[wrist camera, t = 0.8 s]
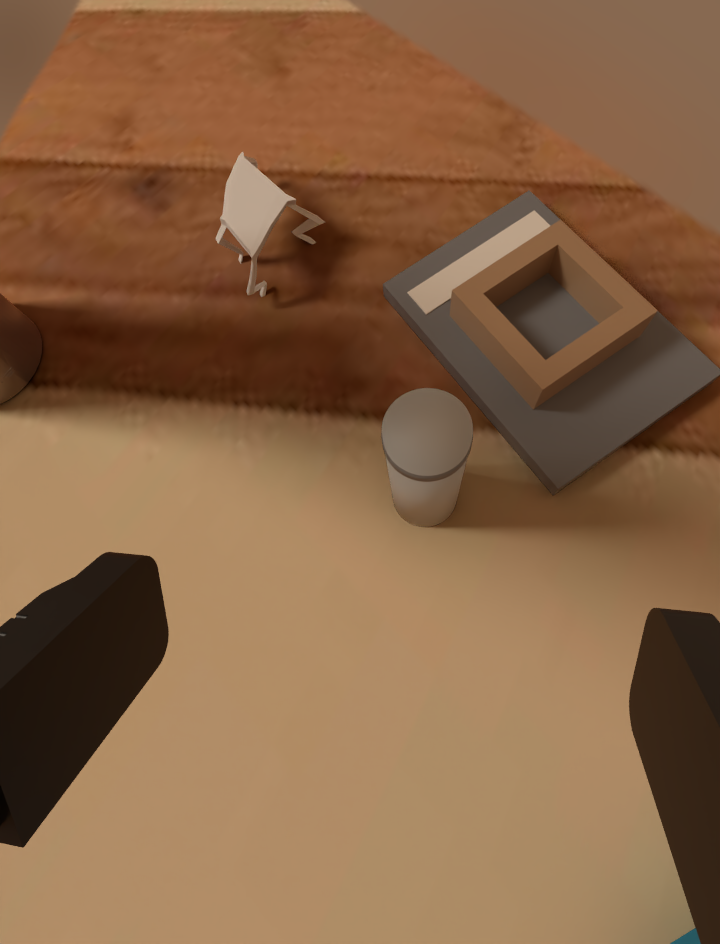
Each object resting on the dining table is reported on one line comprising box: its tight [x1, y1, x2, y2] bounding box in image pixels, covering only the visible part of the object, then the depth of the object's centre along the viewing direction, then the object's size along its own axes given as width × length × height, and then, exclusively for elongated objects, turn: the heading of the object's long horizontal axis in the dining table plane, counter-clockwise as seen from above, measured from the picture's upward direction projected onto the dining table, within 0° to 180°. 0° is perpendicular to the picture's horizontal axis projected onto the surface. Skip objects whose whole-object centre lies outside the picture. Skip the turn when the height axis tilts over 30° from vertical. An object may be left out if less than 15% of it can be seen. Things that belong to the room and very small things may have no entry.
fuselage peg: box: [381, 388, 473, 527], centre depth 32 cm, size 4×4×12 cm
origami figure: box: [216, 152, 325, 297], centre depth 44 cm, size 12×8×5 cm
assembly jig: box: [383, 191, 720, 495], centre depth 39 cm, size 20×14×4 cm
